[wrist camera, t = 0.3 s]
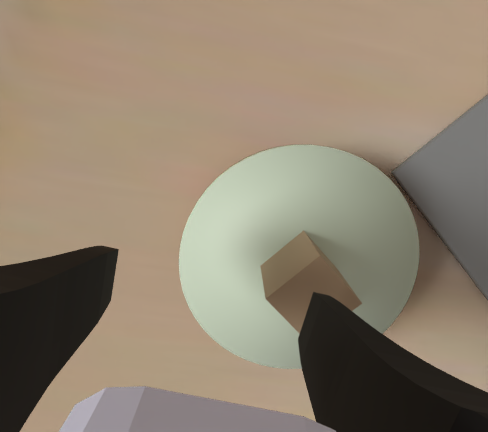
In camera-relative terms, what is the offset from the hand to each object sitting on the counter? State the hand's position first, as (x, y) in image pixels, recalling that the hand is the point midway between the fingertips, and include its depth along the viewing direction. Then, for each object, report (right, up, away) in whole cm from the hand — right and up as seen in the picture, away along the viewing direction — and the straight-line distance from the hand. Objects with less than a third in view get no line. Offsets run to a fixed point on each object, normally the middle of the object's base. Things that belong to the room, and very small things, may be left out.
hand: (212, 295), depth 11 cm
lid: (+4, 0, +7) cm, 8 cm away
